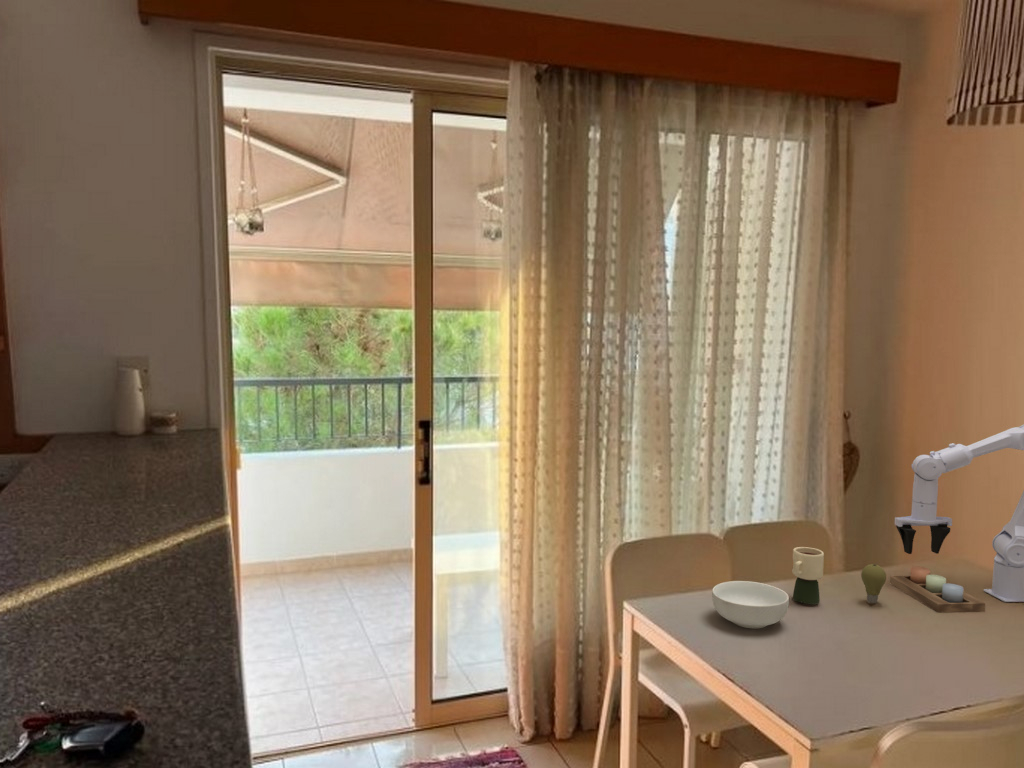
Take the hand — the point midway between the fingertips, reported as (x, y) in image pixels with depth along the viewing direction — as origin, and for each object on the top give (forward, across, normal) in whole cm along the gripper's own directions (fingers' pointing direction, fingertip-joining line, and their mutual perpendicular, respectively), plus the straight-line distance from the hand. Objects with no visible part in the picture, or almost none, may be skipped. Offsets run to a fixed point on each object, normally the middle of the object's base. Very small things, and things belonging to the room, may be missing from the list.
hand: (921, 552), depth 199 cm
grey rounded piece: (+8, 0, +13) cm, 15 cm away
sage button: (+8, 0, +6) cm, 10 cm away
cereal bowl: (+10, +54, +19) cm, 58 cm away
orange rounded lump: (+8, 0, 0) cm, 8 cm away
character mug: (+10, +35, +8) cm, 37 cm away
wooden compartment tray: (+9, 0, +6) cm, 11 cm away
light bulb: (+10, +19, +10) cm, 24 cm away
